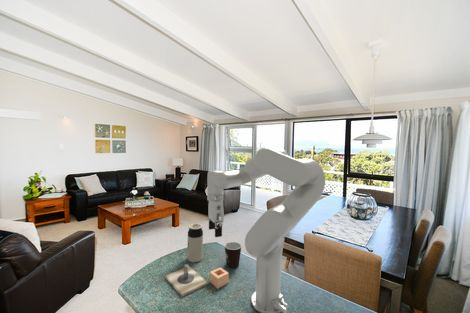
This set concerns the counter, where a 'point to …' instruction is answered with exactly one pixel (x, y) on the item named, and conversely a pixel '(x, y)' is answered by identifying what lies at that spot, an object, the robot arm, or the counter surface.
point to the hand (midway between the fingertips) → (215, 232)
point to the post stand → (186, 280)
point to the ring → (219, 277)
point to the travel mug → (195, 243)
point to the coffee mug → (232, 254)
